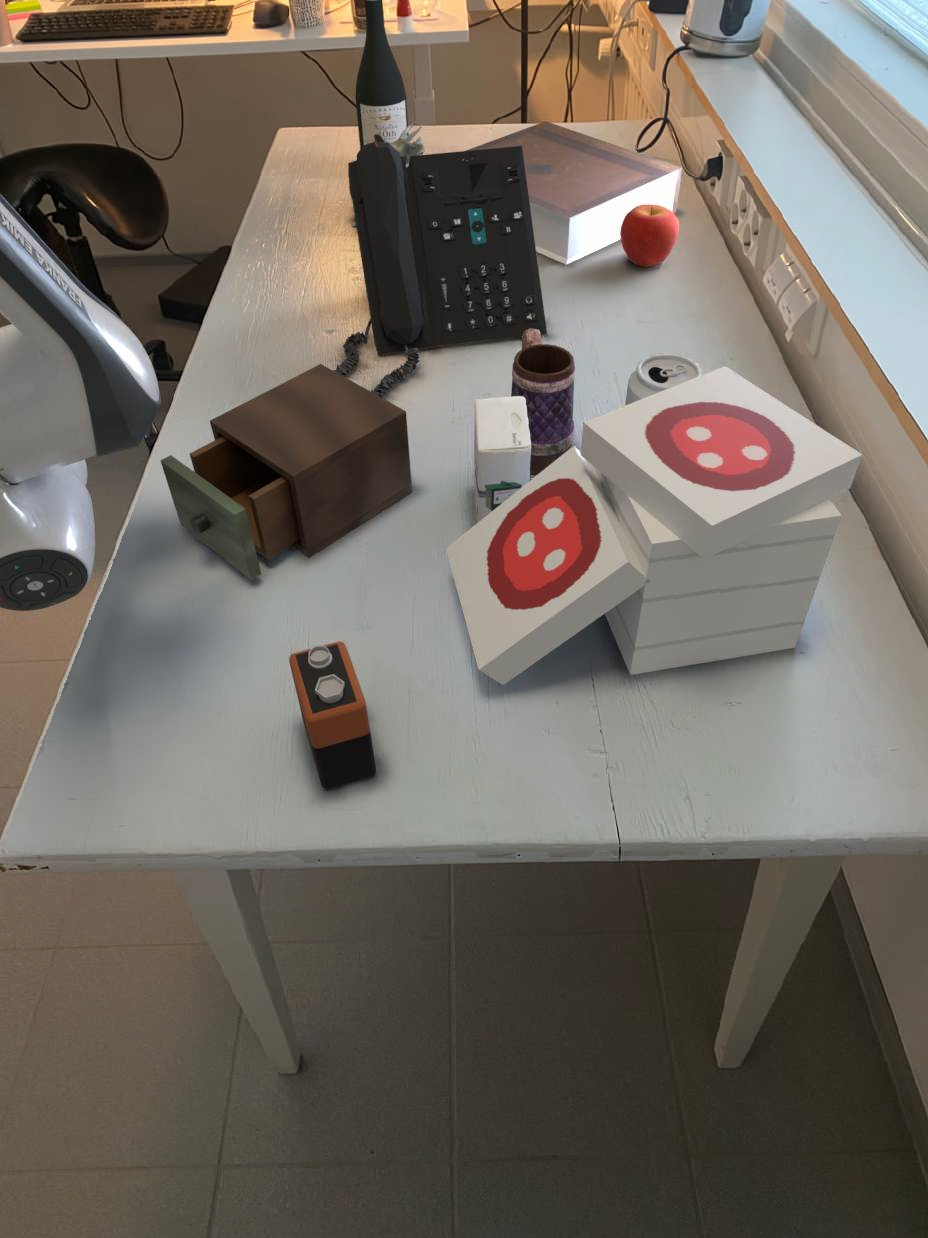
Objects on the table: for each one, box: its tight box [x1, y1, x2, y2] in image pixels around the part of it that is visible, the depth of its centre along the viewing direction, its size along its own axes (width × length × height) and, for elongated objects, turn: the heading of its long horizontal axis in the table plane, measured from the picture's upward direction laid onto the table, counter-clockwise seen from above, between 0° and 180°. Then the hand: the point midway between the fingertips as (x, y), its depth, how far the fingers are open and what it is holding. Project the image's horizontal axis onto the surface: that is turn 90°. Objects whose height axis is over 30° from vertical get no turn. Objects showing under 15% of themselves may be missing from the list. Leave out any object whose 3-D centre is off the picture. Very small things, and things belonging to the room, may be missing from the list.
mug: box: [510, 328, 576, 474], centre depth 97 cm, size 10×7×12 cm
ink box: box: [473, 396, 531, 524], centre depth 89 cm, size 9×5×12 cm, turn 2°
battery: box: [288, 640, 377, 791], centre depth 70 cm, size 4×7×10 cm, turn 19°
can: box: [624, 353, 703, 406], centre depth 94 cm, size 8×8×12 cm
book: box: [465, 120, 683, 265], centre depth 141 cm, size 24×28×7 cm
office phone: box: [332, 141, 548, 399], centre depth 110 cm, size 29×28×20 cm
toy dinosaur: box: [348, 120, 425, 229], centre depth 138 cm, size 22×8×11 cm, turn 154°
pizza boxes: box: [445, 365, 863, 686], centre depth 77 cm, size 19×30×18 cm, turn 101°
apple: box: [620, 204, 680, 267], centre depth 128 cm, size 8×8×8 cm
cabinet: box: [209, 363, 413, 558], centre depth 93 cm, size 14×13×10 cm
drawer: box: [160, 436, 300, 581], centre depth 89 cm, size 14×12×8 cm
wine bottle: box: [354, 0, 409, 169], centre depth 144 cm, size 8×8×30 cm
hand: (17, 357), depth 83 cm, fingers open, 8 cm apart
